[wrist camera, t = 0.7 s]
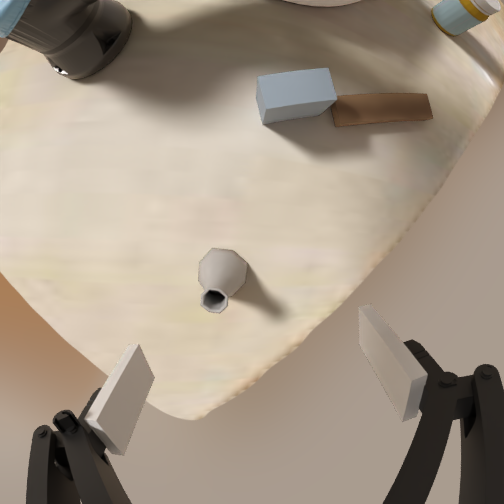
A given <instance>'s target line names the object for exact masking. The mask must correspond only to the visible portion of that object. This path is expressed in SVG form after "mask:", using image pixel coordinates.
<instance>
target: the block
mask: <svg viewBox="0 0 504 504" xmlns="http://www.w3.org/2000/svg"><path fill="white" fill-rule="evenodd" d="M330 107H331V111H332V115H333V119H334V123H335V127H340V126H349V125H358V124H369V123H382V122H398V121H424V120H429V119H433V115H432V111H431V107H430V103H429V100H428V96H427V94H418V93H380V94H357V95H343V96H337V100H336V101H335V102H334V103H333V104H332V105H330Z"/></svg>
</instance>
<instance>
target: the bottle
mask: <svg viewBox="0 0 504 504" xmlns="http://www.w3.org/2000/svg"><path fill="white" fill-rule="evenodd" d="M500 10H501V6H500V3H499V1H498V0H442V1H441V2H440V3H438V4H437V5H436V6H435V7H433V8H432V10H431V13H432V18H433V20H434V22H435V23H436V25H437V26H438V27H439V28H440V29H441V30H442V31H443V32H445V33H447V34H449V35H452V36H457V35H459V34H461V33H463V32H465V31H467V30H468V29H470V28H472V27H474V26H476V25H478V24H480V23H482V22H484V21H486V20H487V19H488V17H489V15H492V14H494V13H496V12H498V11H500Z"/></svg>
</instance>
